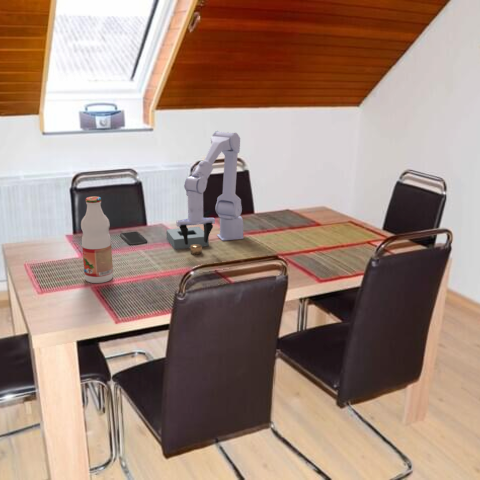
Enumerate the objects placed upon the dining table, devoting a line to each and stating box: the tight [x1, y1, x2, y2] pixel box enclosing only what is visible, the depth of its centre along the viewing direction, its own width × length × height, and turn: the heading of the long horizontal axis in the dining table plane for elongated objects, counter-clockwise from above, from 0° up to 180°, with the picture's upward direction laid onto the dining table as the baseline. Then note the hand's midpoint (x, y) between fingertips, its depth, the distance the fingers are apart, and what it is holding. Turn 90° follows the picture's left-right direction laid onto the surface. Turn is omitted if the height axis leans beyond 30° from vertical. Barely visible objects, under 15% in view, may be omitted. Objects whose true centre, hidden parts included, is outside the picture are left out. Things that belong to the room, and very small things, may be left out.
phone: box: [119, 231, 148, 246], centre depth 229 cm, size 8×1×15 cm
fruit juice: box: [80, 195, 114, 284], centre depth 184 cm, size 9×9×28 cm
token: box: [189, 244, 203, 256], centre depth 213 cm, size 4×4×3 cm
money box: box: [165, 226, 210, 250], centre depth 225 cm, size 14×14×4 cm
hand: (196, 242), depth 212 cm, fingers open, 7 cm apart
